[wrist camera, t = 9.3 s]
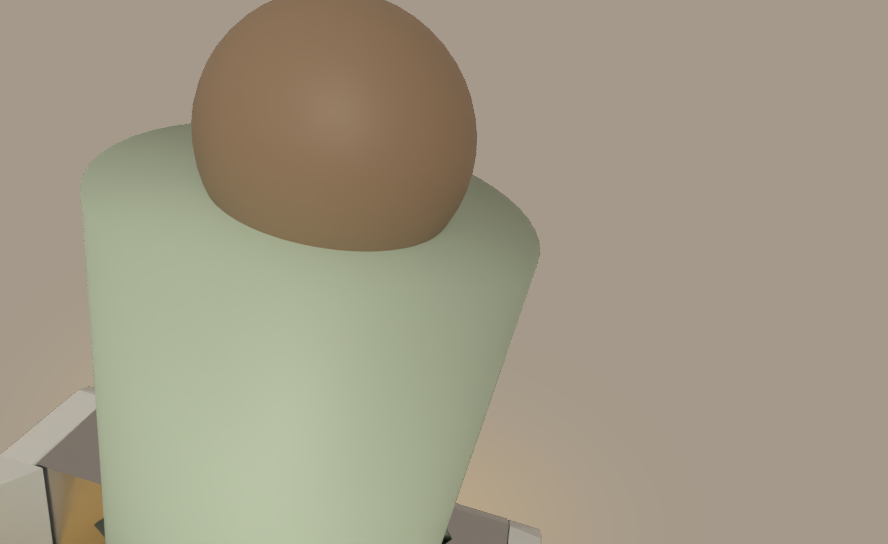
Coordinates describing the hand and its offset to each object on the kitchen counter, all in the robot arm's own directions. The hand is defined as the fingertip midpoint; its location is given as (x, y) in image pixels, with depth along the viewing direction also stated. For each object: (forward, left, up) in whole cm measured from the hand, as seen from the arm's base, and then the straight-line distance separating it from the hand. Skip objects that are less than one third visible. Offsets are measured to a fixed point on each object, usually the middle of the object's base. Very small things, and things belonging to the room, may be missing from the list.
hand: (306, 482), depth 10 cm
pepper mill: (0, +1, -7) cm, 8 cm away
